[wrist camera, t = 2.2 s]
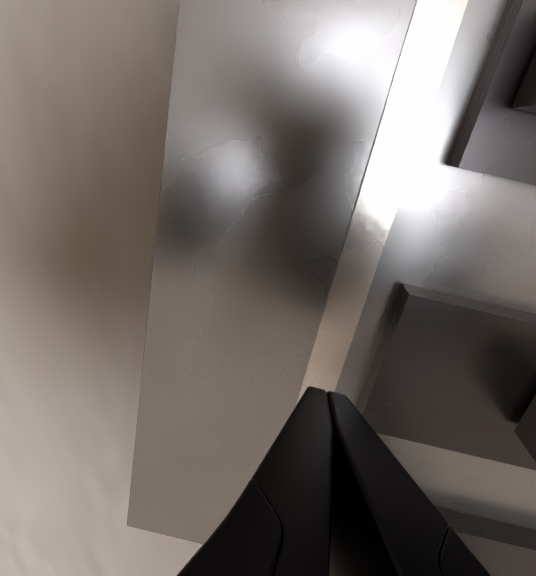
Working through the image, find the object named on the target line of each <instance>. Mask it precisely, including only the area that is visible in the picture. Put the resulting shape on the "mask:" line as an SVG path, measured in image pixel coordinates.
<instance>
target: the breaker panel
mask: <svg viewBox="0 0 536 576" xmlns="http://www.w3.org/2000/svg"><path fill="white" fill-rule="evenodd" d="M309 386H311V387H316V388H320V389H324V390H325V391H326V392H328V391H333V392H337V393H341V394H345V395H346V396H347V397H348V398H349V400H350V401H351V402H352V403H353V405H354V406H355V407H356V408H357V410H358V411H359V412H360V413H361V415H362V416H363V417H364V418H365V420H366V421H367V422H368V423H369V425H370V426H371V427H372V428H373V430H374V431H375V432H376V433H377V435H378V436H379V437H380V438H381V440H382V441H383V442H384V443H385V445H386V446H387V447H388V448H389V450H390V451H391V452H392V453H393V455H394V456H395V457H396V458H397V460H398V461H399V462H400V463H401V465H402V466H403V467H404V468H405V470H406V471H407V472H408V473H409V475H410V476H411V477H412V478H413V480H414V481H415V482H416V483H417V485H418V486H419V487H420V488H421V490H422V491H423V492H424V493H425V495H426V496H427V497H428V498H429V500H430V501H431V502H432V503H433V505H434V506H435V507H436V508H437V510H438V511H439V512H440V513H441V515H442V516H443V517H444V518H445V520H446V521H447V522H448V527H452V528H453V529H454V531H455V532H456V533H457V534H458V536H459V537H460V538H461V539H462V541H463V542H464V543H465V544H466V546H467V547H468V548H469V549H470V550H471V552H472V553H473V554H474V555H475V556H476V558H477V559H478V560H479V561H480V562H481V564H482V565H483V566H484V567H485V568H486V570H487V571H488V572H489V573H490V575H491V576H536V462H535V460H534V459H533V458H532V456H531V455H530V453H529V452H528V450H527V449H526V448H525V446H524V445H523V443H522V442H521V441H520V439H519V438H518V436H517V435H516V433H515V432H514V430H515V428H516V427H517V425H518V423H519V422H520V420H521V418H522V417H523V415H524V413H525V411H526V410H527V408H528V406H529V405H530V403H531V401H532V400H533V398H534V396H535V395H536V0H180V1H179V11H178V21H177V31H176V41H175V51H174V61H173V71H172V81H171V91H170V101H169V111H168V121H167V130H166V140H165V150H164V160H163V170H162V180H161V190H160V200H159V210H158V220H157V230H156V240H155V250H154V260H153V270H152V280H151V290H150V300H149V310H148V320H147V329H146V339H145V349H144V359H143V369H142V379H141V389H140V399H139V409H138V419H137V429H136V439H135V449H134V459H133V469H132V479H131V489H130V499H129V509H128V519H127V526H131V527H135V528H139V529H143V530H147V531H151V532H156V533H160V534H164V535H168V536H172V537H176V538H181V539H185V540H189V541H193V542H197V543H201V544H204V543H205V542H206V541H207V540H208V538H209V537H210V536H211V535H212V533H213V532H214V531H215V530H216V528H217V527H218V526H219V524H220V523H221V522H222V521H223V519H224V518H225V517H226V516H227V514H228V513H229V511H230V510H231V508H232V507H233V505H234V504H235V502H236V501H237V499H238V498H239V496H240V495H241V493H242V492H243V490H244V489H245V487H246V485H247V484H248V482H249V481H250V480H251V478H252V476H253V475H254V473H255V471H256V470H257V468H258V466H259V465H260V463H261V462H262V460H263V458H264V457H265V455H266V453H267V452H268V450H269V449H270V447H271V445H272V444H273V442H274V441H275V439H276V437H277V436H278V434H279V432H280V431H281V429H282V428H283V426H284V424H285V423H286V421H287V419H288V418H289V416H290V415H291V413H292V411H293V410H294V408H295V407H296V405H297V403H298V402H299V400H300V398H301V397H302V395H303V394H304V392H305V390H306V389H307V387H309Z"/></svg>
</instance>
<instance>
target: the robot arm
mask: <svg viewBox="0 0 536 576" xmlns="http://www.w3.org/2000/svg"><path fill="white" fill-rule="evenodd" d="M177 576H491V575H490V573H489V572H488V571H487V570H486V568H485V567H484V566H483V565H482V564H481V562H480V561H479V560H478V559H477V558H476V556H475V555H474V554H473V553H472V552H471V550H470V549H469V548H468V547H467V546H466V544H465V543H464V542H463V541H462V539H461V538H460V537H459V536H458V534H457V533H456V532H455V531H454V529H453V528H452V527H448V522H447V521H446V520H445V518H444V517H443V516H442V515H441V513H440V512H439V511H438V510H437V508H436V507H435V506H434V505H433V503H432V502H431V501H430V500H429V498H428V497H427V496H426V495H425V493H424V492H423V491H422V490H421V488H420V487H419V486H418V485H417V483H416V482H415V481H414V480H413V478H412V477H411V476H410V475H409V473H408V472H407V471H406V470H405V468H404V467H403V466H402V465H401V463H400V462H399V461H398V460H397V458H396V457H395V456H394V455H393V453H392V452H391V451H390V450H389V448H388V447H387V446H386V445H385V443H384V442H383V441H382V440H381V438H380V437H379V436H378V435H377V433H376V432H375V431H374V430H373V428H372V427H371V426H370V425H369V423H368V422H367V421H366V420H365V418H364V417H363V416H362V415H361V413H360V412H359V411H358V410H357V408H356V407H355V406H354V405H353V403H352V402H351V401H350V400H349V398H348V397H347V396H346V395H345V394H341V393H337V392H333V391H328V392H326V391H325V390H324V389H320V388H316V387H311V386H309V387H307V389H306V390H305V392H304V394H303V395H302V397H301V398H300V400H299V402H298V403H297V405H296V407H295V408H294V410H293V411H292V413H291V415H290V416H289V418H288V419H287V421H286V423H285V424H284V426H283V428H282V429H281V431H280V432H279V434H278V436H277V437H276V439H275V441H274V442H273V444H272V445H271V447H270V449H269V450H268V452H267V453H266V455H265V457H264V458H263V460H262V462H261V463H260V465H259V466H258V468H257V470H256V471H255V473H254V475H253V476H252V478H251V480H250V481H249V482H248V484H247V485H246V487H245V489H244V490H243V492H242V493H241V495H240V496H239V498H238V499H237V501H236V502H235V504H234V505H233V507H232V508H231V510H230V511H229V513H228V514H227V516H226V517H225V518H224V519H223V521H222V522H221V523H220V524H219V526H218V527H217V528H216V530H215V531H214V532H213V533H212V535H211V536H210V537H209V538H208V540H207V541H206V542H205V543H204V544H203V545H202V547H201V548H200V549H199V550H198V551H197V552H196V554H195V555H194V556H193V557H192V558H191V559H190V561H189V562H188V563H187V564H186V565H185V566H184V568H183V569H182V570H181V571H180V572H179V573H178V575H177Z"/></svg>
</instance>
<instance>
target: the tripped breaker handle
mask: <svg viewBox="0 0 536 576" xmlns="http://www.w3.org/2000/svg"><path fill="white" fill-rule="evenodd" d="M514 432H515V433H516V435H517V436H518V438H519V439H520V441H521V442H522V443H523V445H524V446H525V448H526V449H527V450H528V452H529V453H530V455H531V456H532V458H533V459H534V460H535V462H536V395H535V396H534V398H533V400H532V401H531V403H530V405H529V406H528V408H527V410H526V411H525V413H524V415H523V417H522V418H521V420H520V422H519V423H518V425H517V427H516V428H515V430H514Z"/></svg>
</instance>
